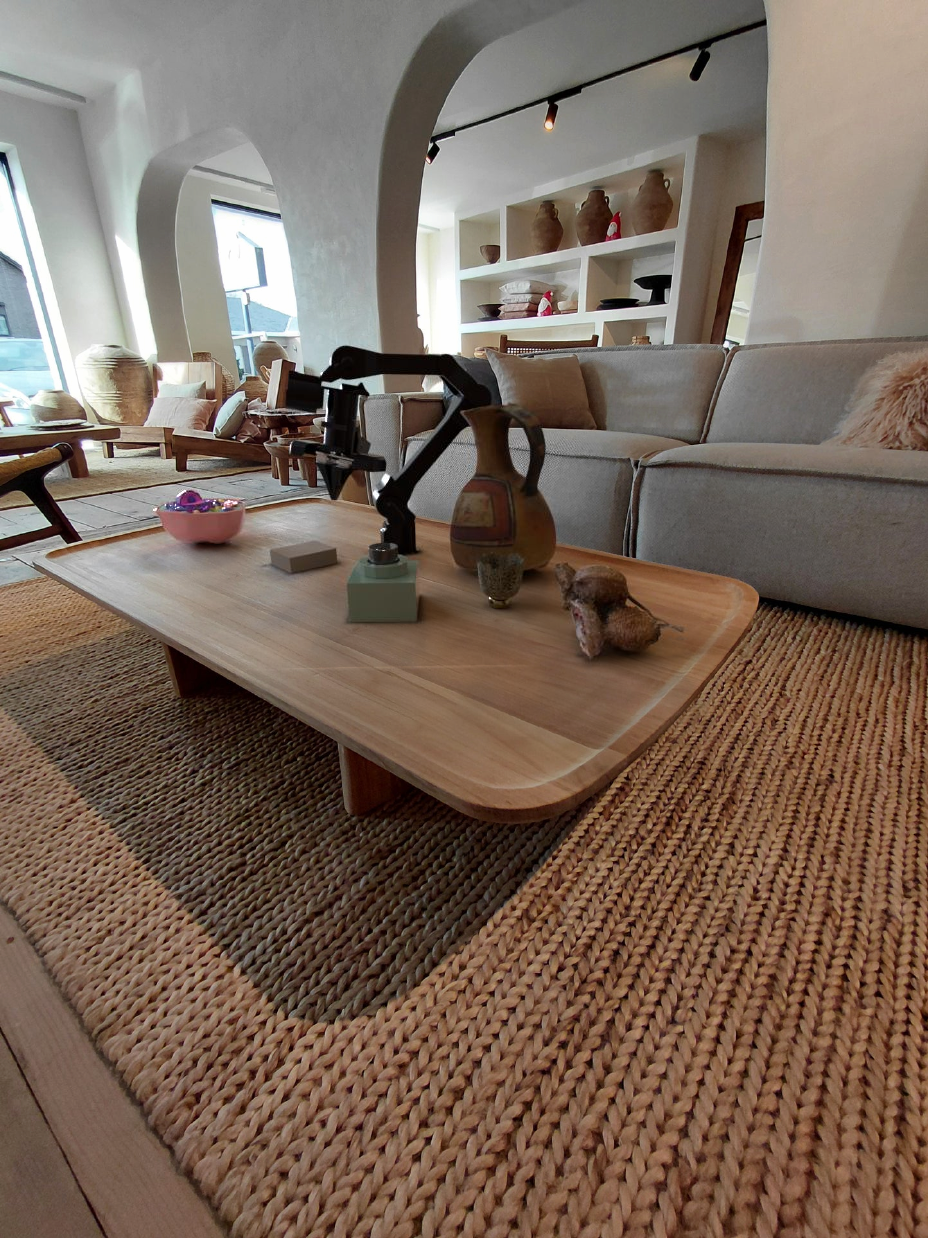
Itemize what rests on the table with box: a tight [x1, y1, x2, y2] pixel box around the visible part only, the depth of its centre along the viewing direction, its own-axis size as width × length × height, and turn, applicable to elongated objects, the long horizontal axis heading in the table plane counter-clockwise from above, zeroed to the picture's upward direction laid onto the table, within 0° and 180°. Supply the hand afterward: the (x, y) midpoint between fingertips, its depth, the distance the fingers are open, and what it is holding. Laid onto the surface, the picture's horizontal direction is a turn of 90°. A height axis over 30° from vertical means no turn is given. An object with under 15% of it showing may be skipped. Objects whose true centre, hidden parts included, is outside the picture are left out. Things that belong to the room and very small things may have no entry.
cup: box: [477, 551, 525, 610], centre depth 91 cm, size 8×7×8 cm
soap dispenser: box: [346, 554, 420, 623], centre depth 90 cm, size 11×10×8 cm
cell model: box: [153, 489, 247, 545], centre depth 125 cm, size 17×20×11 cm
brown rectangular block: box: [269, 540, 338, 574], centre depth 113 cm, size 10×8×3 cm
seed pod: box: [554, 562, 685, 661], centre depth 78 cm, size 13×16×15 cm
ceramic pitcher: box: [449, 402, 557, 572], centre depth 104 cm, size 20×20×30 cm
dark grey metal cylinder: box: [367, 542, 398, 565], centre depth 88 cm, size 4×4×3 cm
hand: (334, 500), depth 114 cm, fingers closed
